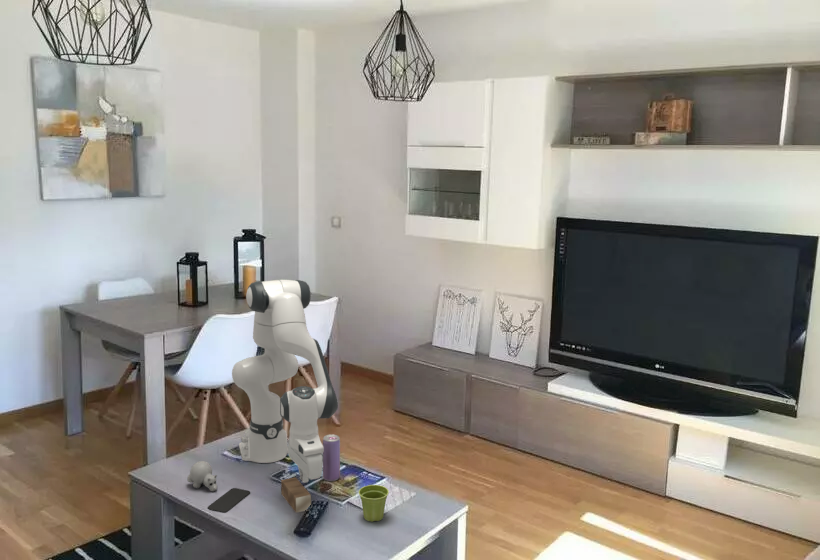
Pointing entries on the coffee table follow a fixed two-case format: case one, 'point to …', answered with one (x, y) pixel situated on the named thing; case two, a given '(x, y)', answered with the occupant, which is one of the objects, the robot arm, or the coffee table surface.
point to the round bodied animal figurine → (202, 476)
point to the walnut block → (295, 494)
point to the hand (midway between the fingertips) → (304, 480)
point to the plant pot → (373, 501)
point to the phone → (229, 500)
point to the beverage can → (331, 457)
